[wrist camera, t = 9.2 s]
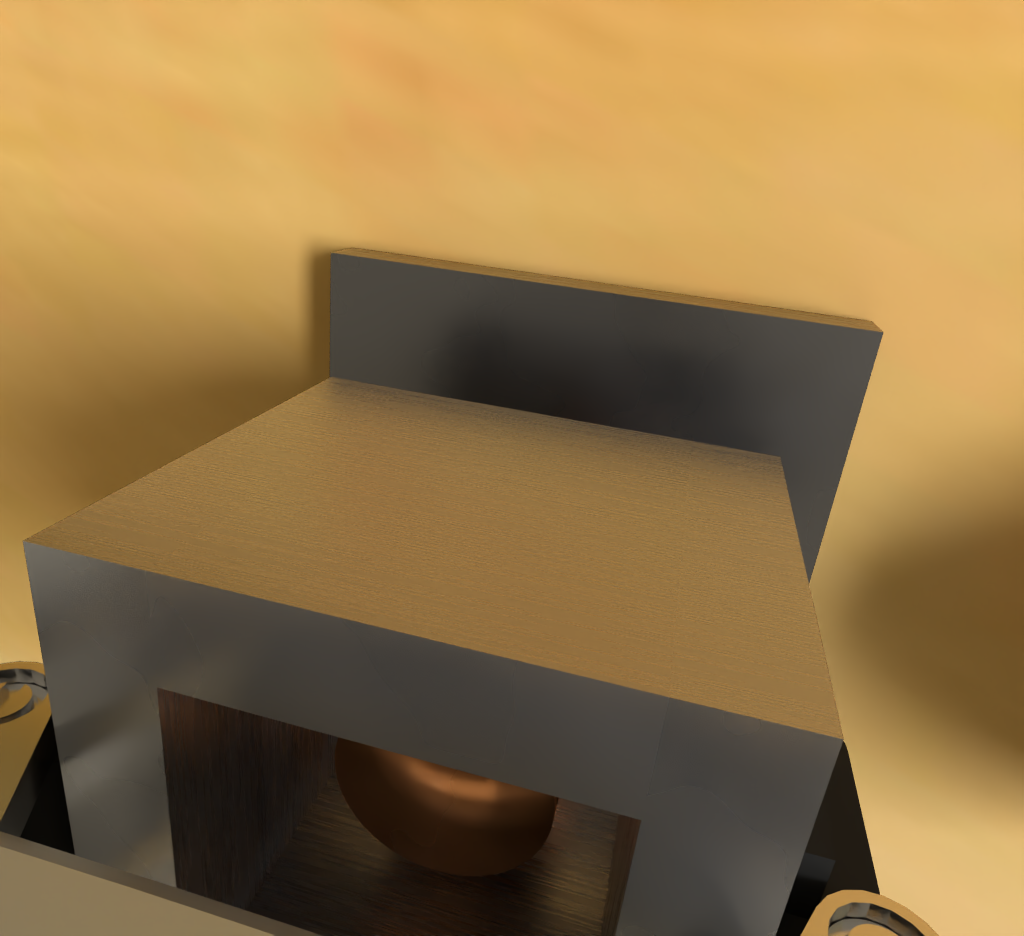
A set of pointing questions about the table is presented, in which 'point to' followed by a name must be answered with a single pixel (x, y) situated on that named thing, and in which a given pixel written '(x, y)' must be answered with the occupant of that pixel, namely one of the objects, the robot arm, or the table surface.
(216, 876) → the grey square open box
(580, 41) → the table surface
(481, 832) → the post
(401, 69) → the table surface
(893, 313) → the table surface
